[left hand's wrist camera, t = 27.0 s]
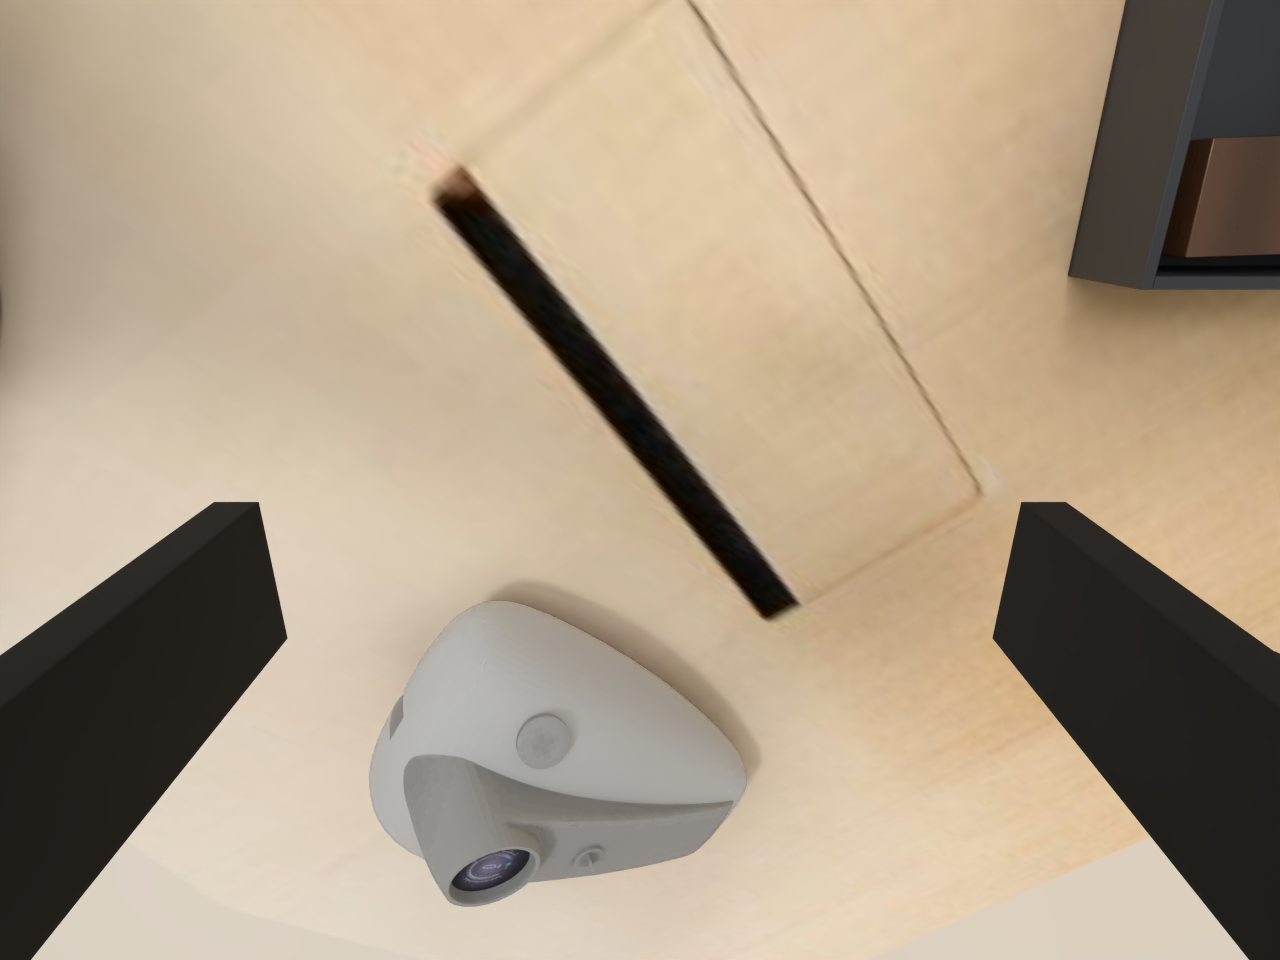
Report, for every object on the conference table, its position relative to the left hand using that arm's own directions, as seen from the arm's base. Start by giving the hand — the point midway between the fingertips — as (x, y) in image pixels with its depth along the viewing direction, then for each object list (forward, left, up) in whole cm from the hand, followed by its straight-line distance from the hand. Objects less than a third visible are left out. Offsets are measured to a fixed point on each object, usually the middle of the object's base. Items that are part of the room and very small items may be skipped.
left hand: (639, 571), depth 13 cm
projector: (-4, -27, -29) cm, 40 cm away
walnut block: (+27, +6, -28) cm, 40 cm away
